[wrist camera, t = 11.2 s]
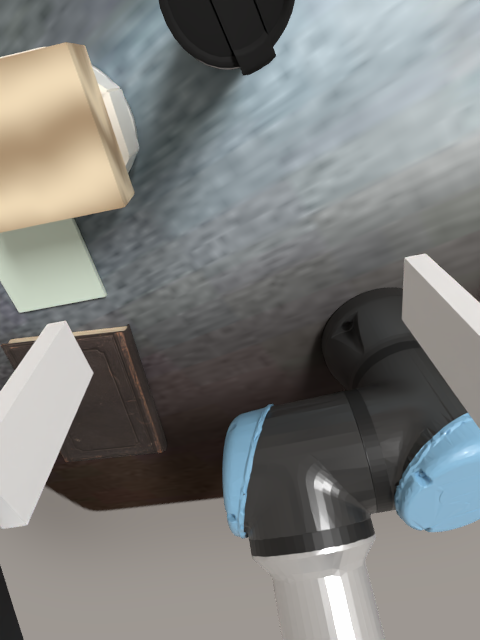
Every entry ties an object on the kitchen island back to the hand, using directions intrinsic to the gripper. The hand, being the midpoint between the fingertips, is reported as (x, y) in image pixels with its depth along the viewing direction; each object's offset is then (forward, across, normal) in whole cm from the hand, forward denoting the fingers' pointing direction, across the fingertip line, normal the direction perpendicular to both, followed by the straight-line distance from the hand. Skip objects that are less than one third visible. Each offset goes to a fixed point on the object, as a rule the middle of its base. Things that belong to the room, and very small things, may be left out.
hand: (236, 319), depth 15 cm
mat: (+29, +23, +6) cm, 37 cm away
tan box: (+23, +14, -6) cm, 27 cm away
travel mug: (+29, -2, -11) cm, 31 cm away
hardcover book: (+29, +25, +27) cm, 47 cm away
